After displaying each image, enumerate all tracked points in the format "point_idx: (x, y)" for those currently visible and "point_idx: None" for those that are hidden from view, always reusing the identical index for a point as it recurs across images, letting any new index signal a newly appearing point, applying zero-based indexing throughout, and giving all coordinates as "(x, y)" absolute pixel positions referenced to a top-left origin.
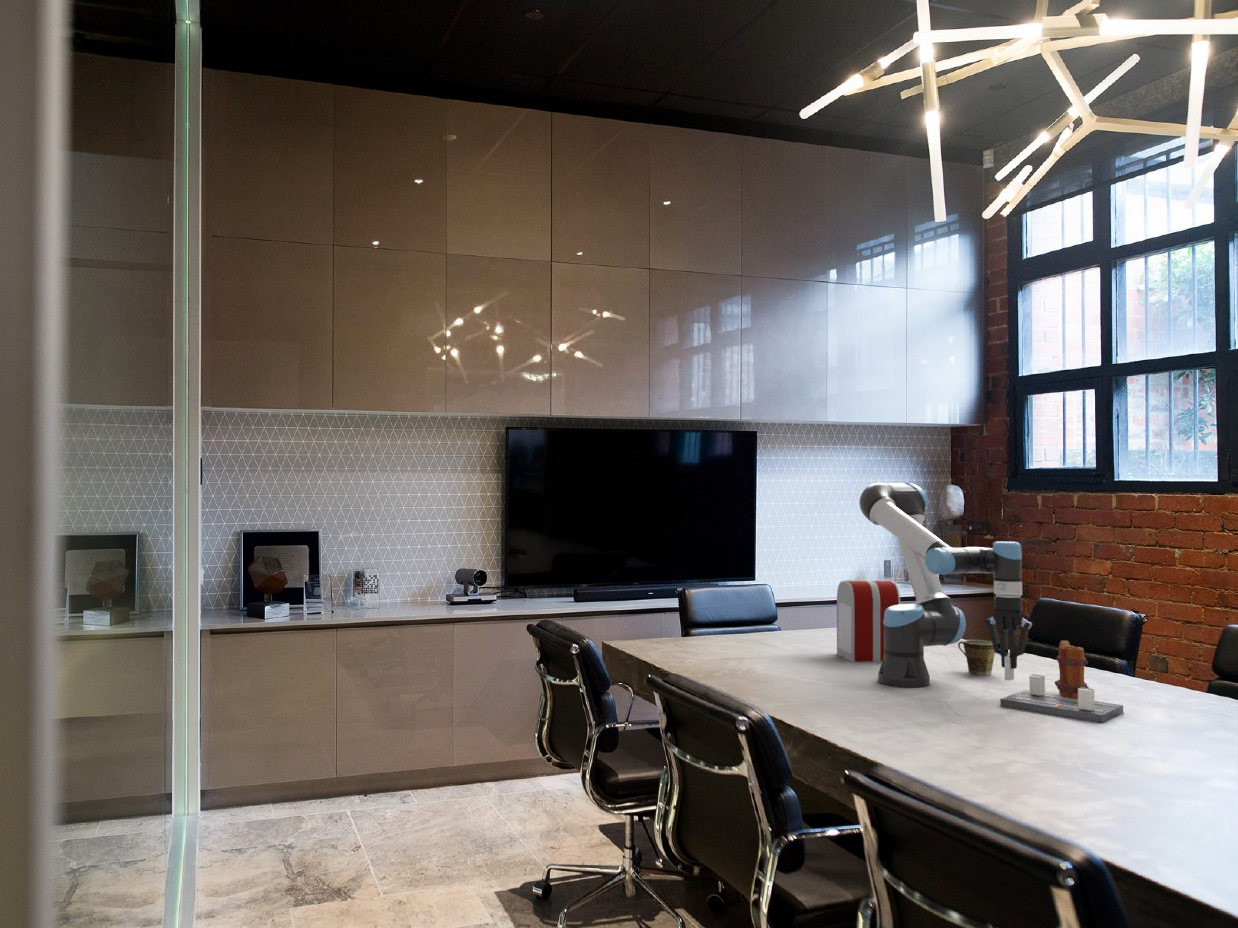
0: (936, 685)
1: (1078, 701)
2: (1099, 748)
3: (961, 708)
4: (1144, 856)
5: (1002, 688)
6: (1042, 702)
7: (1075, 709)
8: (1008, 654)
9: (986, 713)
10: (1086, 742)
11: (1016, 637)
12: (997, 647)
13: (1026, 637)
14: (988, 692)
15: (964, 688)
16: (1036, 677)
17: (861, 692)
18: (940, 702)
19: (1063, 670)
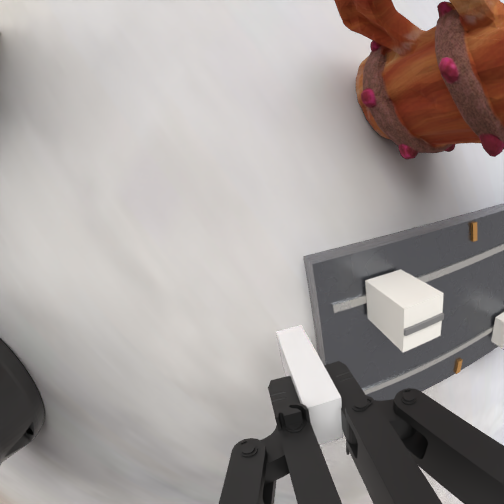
0: (26, 347)
1: (501, 347)
2: (496, 425)
3: (279, 481)
4: None
5: (141, 179)
6: (427, 366)
7: (485, 344)
8: (303, 409)
9: (338, 467)
10: (487, 424)
11: (430, 496)
12: (272, 498)
13: (501, 459)
14: (169, 301)
15: (81, 315)
16: (424, 339)
17: (77, 496)
18: (212, 481)
19: (458, 131)
